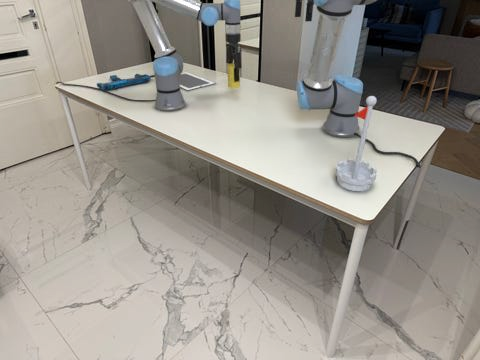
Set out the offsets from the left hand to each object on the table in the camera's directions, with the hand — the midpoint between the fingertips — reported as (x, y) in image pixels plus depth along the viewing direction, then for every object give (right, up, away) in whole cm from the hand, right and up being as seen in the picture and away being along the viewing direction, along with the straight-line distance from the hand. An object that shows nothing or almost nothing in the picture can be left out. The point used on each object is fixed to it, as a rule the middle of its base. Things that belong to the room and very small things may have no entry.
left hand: (233, 79), depth 181 cm
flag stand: (+42, -55, -66) cm, 95 cm away
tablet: (-30, +8, +30) cm, 43 cm away
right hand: (+32, +20, -27) cm, 46 cm away
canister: (0, -3, +2) cm, 4 cm away
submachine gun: (-67, +6, +28) cm, 73 cm away
